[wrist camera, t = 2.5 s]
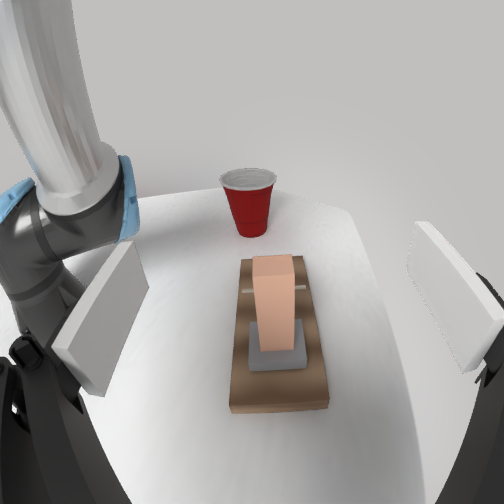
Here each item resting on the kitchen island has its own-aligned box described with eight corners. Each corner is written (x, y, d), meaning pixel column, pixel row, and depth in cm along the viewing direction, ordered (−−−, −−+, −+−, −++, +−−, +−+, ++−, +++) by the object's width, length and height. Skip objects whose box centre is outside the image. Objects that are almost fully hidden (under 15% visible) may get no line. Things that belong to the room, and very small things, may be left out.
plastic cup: (256, 250, 54) (250, 189, 47) (216, 235, 60) (207, 180, 54) (290, 227, 60) (288, 171, 54) (250, 215, 67) (245, 164, 60)
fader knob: (306, 367, 29) (312, 284, 23) (249, 371, 29) (236, 289, 23) (301, 327, 34) (303, 245, 28) (251, 330, 34) (240, 249, 28)
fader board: (327, 408, 27) (329, 399, 26) (231, 413, 27) (228, 404, 26) (302, 265, 49) (302, 255, 48) (242, 269, 49) (241, 259, 48)
